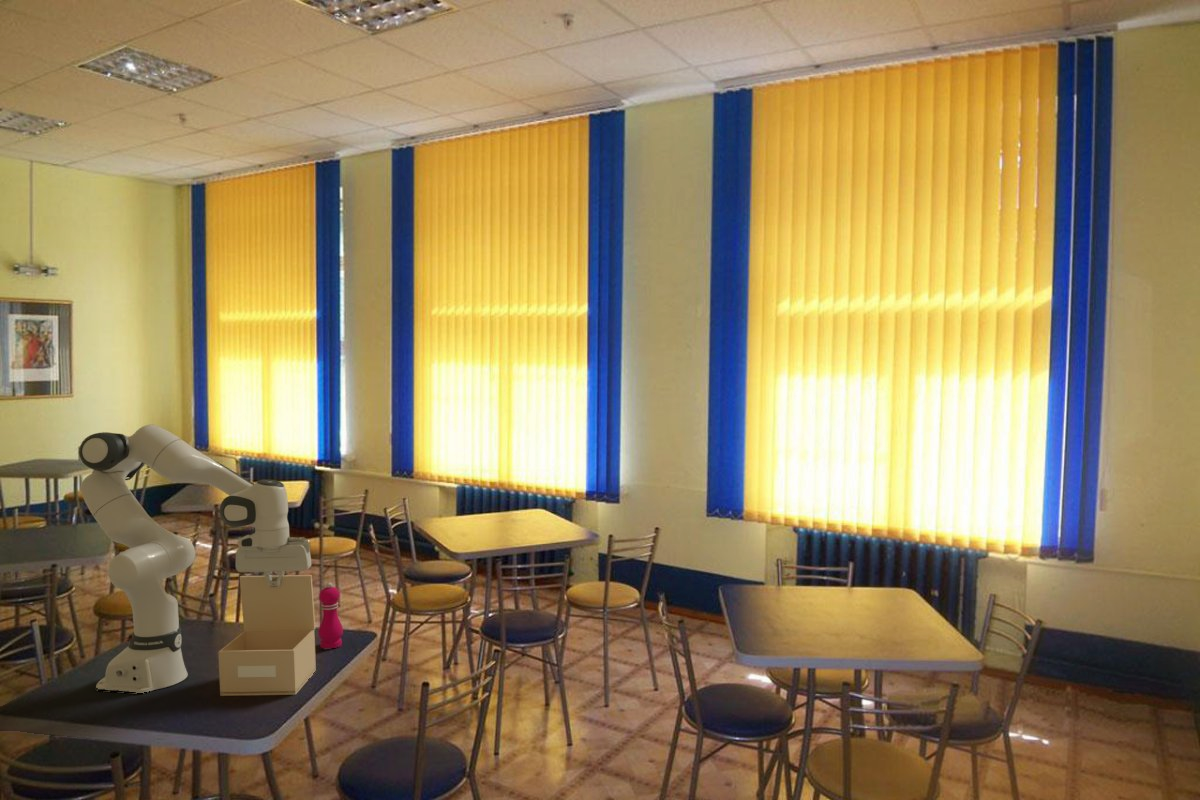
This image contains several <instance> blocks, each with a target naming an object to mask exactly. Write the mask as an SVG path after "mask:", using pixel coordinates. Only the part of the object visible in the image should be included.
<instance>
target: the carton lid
mask: <svg viewBox="0 0 1200 800" xmlns="http://www.w3.org/2000/svg"><path fill="white" fill-rule="evenodd" d="M312 576H313V575H312V574H300V575H299V574H293V575H292V574H290V575H288V574H287V575H285V574H284V576H283V577H282V579H281V586H280V587H269V586H268V581H267V579H266V578H265V576H264V575H241V576H239V585H240V597H241V599H240V600H241V609H242V612H241V613H242V620H243V631H275V630H314V631H315V630H316V617H315V605H314V590H313V589H314V587H313V577H312ZM271 577H272V579H278V577H279V575H277V574H276V575H271Z"/></svg>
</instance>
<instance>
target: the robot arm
mask: <svg viewBox="0 0 1200 800" xmlns="http://www.w3.org/2000/svg"><path fill="white" fill-rule="evenodd" d="M78 450H79V451H78V455H79V458H80V460H81V463H83V464H84V465H85V466H86V467H87V468H89V469H90V470H91V469H92V470H93V471H92V472H91V473H90V474H89V475H87V476H86V477H85V478H84V479H83V480H82V481H81V484H80V489H79V490H80V493H81V495H82V498H83V500H84V503H85V505H86V506H87V508H88V510H89V512H90V513H91V515H92V517H93V518H94V519H95V521H96V522H97V524H98V526H99V527H100V528H101V529H102V531H103V532H104V534H105V535H106V536H107V538H108V540H111V541H112V542H114V543H118V544H121V545H123V546H126V547H128V548H126V550H124V551H121V553H118V554H117V555H115V556H114V557H113V558H111V560H110V561H109V563H108V567H107V574H108V579H109V581H110V582H111V583H112V585H113V586H114V587H115V588H117V589H119V590H121V591H122V592H123V593H124V594H125V595H126V596H127V597H126V598H128V601H129V603H130V605H131V611H132V621H133V632H132V633H130V634H129V635H128V636H126V637H125V638H124V644H125V643H127V642H128V645H127V647H125V648H124V649H123V650H122V651H120V652H119V653H118V654H117V655H116V656H114V658H112V659H111V660H110V661H109V662H108V664H107V665H106V669H105V676H104V677H103V678H101V679H100V680H99V681H98V682H97V683H96V686H95V689H96V688H98V689H105V690H119V691H129V692H136V693H135V694H137V693H143V694H145V693H144V692H147V693H149V691H150V692H152V691H154V690H156V691H157V690H159V689H164V688H167V687H172V686H174V685H176V684H179V683H180V682H182V681H184V680H186V678H187V677H188V676H189V674H188V670H187V668H186V665H185V661H184V658H183V653H182V640H183V639H182V627H181V626H180V623H179V617H180V616H179V605H178V604H179V602H178V600H177V598H176V597H175V596H174V595H172V594H169V593H167V592H166V590H165V587H164V584H163V583H164V580H165V579H167V578H170V577H173V576H175V575H178V574H180V573H182V572H184V571H185V570H186V569H188V568H189V567H190V566H192V564H194V561H195V558H196V549H195V546H194V544H193V542H192V541H191V540H190V539H189V538H187V537H184V536H181V535H178V534H176V533H173V532H172V531H169V530H168V529H166V528H164V527H163V526H162V525H160V524H159V523H158V522H156V520H154V519H153V518H152V517H151V516H150V515H149V514H148V513H147V511H146V510H145V509H144V507H143V506H142V505H141V503H140V502H139V501H138V499H137V498H136V497H135V495H134V494H133V493H132V491H131V490H130V488H129V487H128V485H127V482H126V481H129V480H131V479H133V478H134V476H136V474H137V472H139V471H140V470H141V469H142V468H143V467H144V466H148V467H149V468H150V469H152V470H153V471H154V472H155V473H157V474H158V475H159V476H161V477H163V478H164V479H165V480H166V479H167V480H168V481H170V482H173V483H177V484H204V485H208V486H209V485H210V486H212V487H215V488H217V489H218V490H219V491H222V492H223V493H225V494H226V495H228V496H226V497H225V498H224V499H223V500H222V501H221V502H220V506H219V516H220V518H221V520H222V522H223V523H224V524H225V525H227V526H229V527H230V528H243V527H246V526H254V530H255V531H254V532H252V533H250V534H247V535H245V536H243V537H241V538H239V539H238V540H237V546H238V547H239V548H237V550H236V552H235V570H236V571H237V572H238V573H263V576H265V578H266V579H267V581H268V586H269V587H280V586H281V579H282V577H283V576H284V575H285V573H286V572H305V571H308V569H310V568H311V567H312V557H311V556H312V555H311V542H310V540H309V539H308V538H305V537H304V536H300V537H296V536H295V537H292V536H291V537H290V524H289V520H288V513H289V501H288V500H289V499H288V494H287V489H286V486H285V484H284V483H283V482H281V481H279V480H276V479H260V480H257V481H256V482H255V483H254V482H252V481H250V480H248V479H246V478H244V477H243V476H241V474H239V473H237V472H235V471H233V470H232V469H230V468H228V467H227V466H225V465H224V464H222V463H220V462H218V461H216V460H214V459H213V458H211V457H210V456H207V455H206V454H204V453H202V452H201V451H199V450H198V449H196V448H195V447H193V446H192V445H190V444H189V443H187V442H186V441H185V440H183V439H182V438H180V437H179V436H178V435H176V434H174V433H172V432H170V431H169V430H167V429H165V428H163V427H161V426H159V425H155V424H146V425H143V426H141V427H140V428H138V429H137V430H136V431H135V432H134V433H133V434H132V435H129V436H128V435H125V434H123V433H117V432H107V431H105V432H104V431H102V432H97V433H93V434H90V435H88V436H87V437H85V438H84V439H83V440H82V442H81V443H80V446H79V449H78ZM272 572H276V575H279V577H278V579H272V577H271V576H272Z"/></svg>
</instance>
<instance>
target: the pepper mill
mask: <svg viewBox="0 0 1200 800" xmlns="http://www.w3.org/2000/svg"><path fill="white" fill-rule="evenodd" d="M340 596H341V595H340V591H339V589H338V588H336V587H335V586H333V584H332V582H330V581H329V582H327V583H326V584H325V587H324V588H323V589H321V590H320V593H319V595H318V597H319V598H318V599H319V602H321V603H320V604H321V607H320V608H321V609H322V612H323V613H322V619H321V622H320V625H319V628H318V638H320V640H321V641H320V648H321V647H322V648H336V647H339V646H340V647H342V645H343V644H342V643H343V641H342V640H343V639H342V638H341V637H342V636H343V634H344V629H343V625H342V622H341V621H340V618H339V615H338V607H339V602H338V600H339V599H340ZM340 647H339V648H340ZM322 648H321V649H322ZM336 649H337V648H336Z"/></svg>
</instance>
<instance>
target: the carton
mask: <svg viewBox="0 0 1200 800" xmlns="http://www.w3.org/2000/svg"><path fill="white" fill-rule="evenodd" d="M315 637H316V636H315V630H265V631H244V630H243V631H242V632H240V634H238V635H237V636H235V637H234V638H233V639H232V640H231V641H230V642H228V643H227V644H226V645H225V646H223V647H222V648H221V649H219V651H218V654H217V655H218V673H219V693H220V695H219V696H221V697H224V696H225V697H226V696H227V697H228V696H280V695H281V696H283V695H284V696H287V695H289V696H291V695H292V696H295V695H297V693H299V691H300V690H301V689H302V688H303V686H304V685H306V684H307V682H308V681H309V680H310V679H311V678H312V676H313V675H314V674H315V673H316V672H317V665H316V663H317V662H316V640H315ZM315 671H316V672H315ZM314 672H315V673H314ZM313 673H314V674H313ZM309 678H310V679H309ZM308 679H309V680H308Z"/></svg>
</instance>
